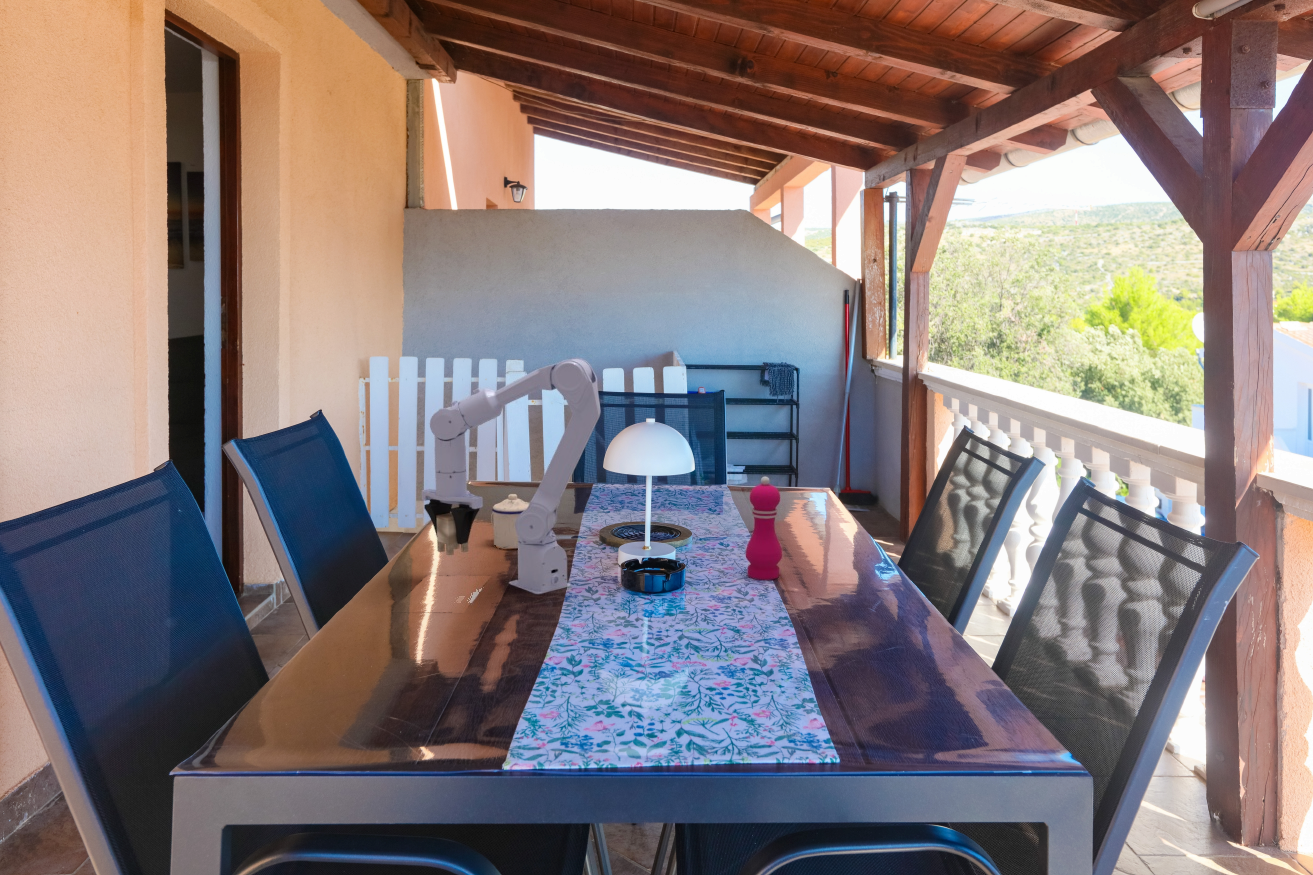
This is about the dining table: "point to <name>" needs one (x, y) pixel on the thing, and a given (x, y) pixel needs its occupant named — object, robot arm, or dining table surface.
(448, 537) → the beige notched block
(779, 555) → the pepper mill
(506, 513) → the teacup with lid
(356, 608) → the dining table surface
